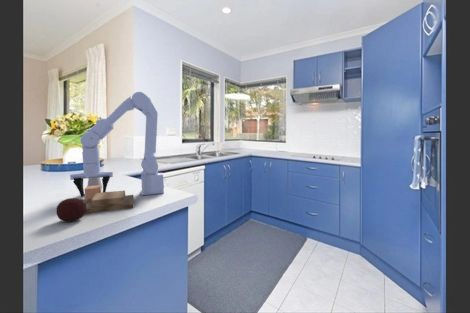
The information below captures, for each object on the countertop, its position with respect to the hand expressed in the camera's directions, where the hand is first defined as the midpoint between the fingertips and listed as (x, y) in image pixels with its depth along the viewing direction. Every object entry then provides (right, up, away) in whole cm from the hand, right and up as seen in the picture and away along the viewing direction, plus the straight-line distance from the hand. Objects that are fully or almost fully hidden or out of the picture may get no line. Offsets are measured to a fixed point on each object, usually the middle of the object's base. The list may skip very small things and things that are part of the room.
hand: (93, 195), depth 92 cm
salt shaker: (-5, -1, +9) cm, 10 cm away
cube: (0, -2, 0) cm, 2 cm away
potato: (+7, -4, -22) cm, 24 cm away
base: (+11, -2, -8) cm, 14 cm away
